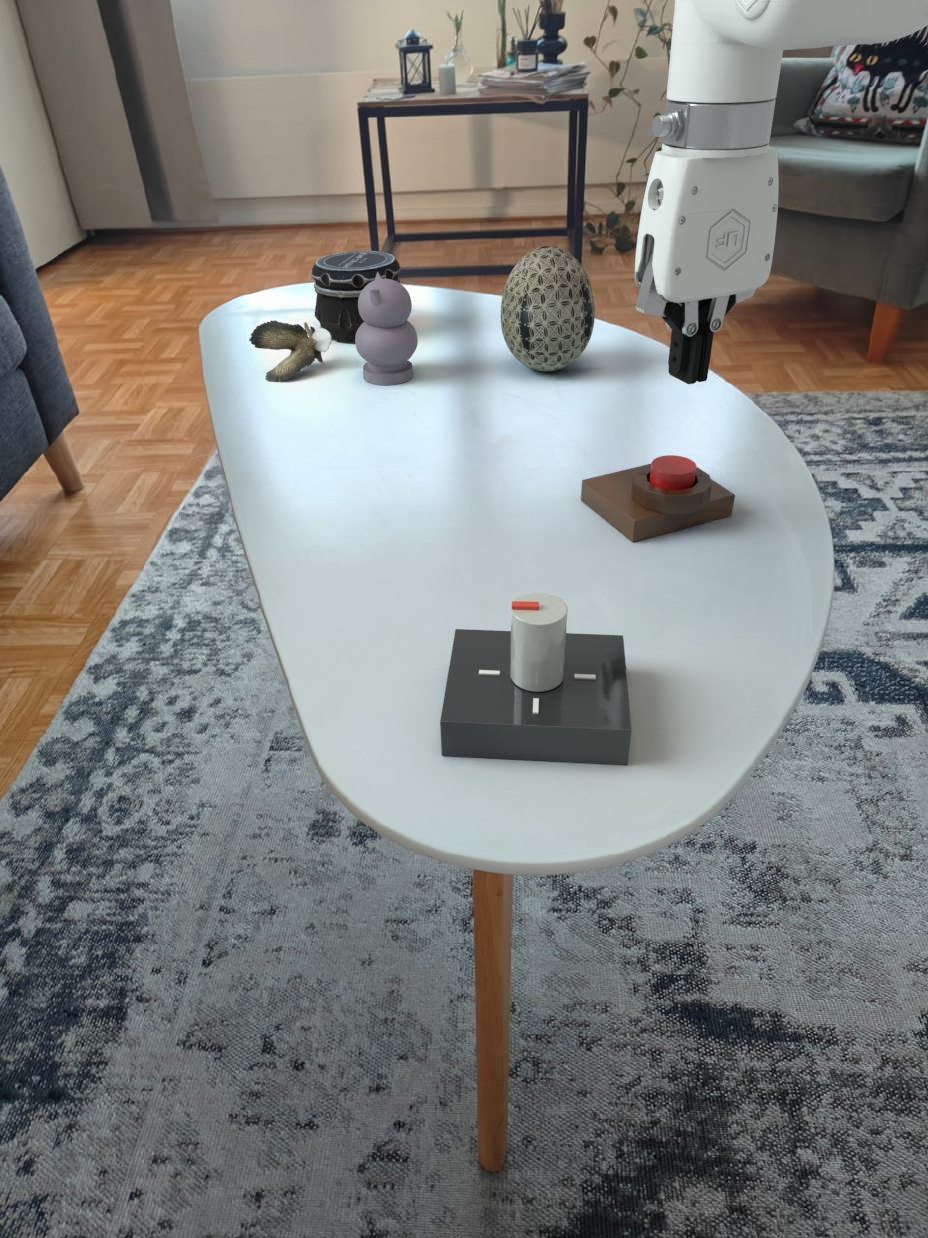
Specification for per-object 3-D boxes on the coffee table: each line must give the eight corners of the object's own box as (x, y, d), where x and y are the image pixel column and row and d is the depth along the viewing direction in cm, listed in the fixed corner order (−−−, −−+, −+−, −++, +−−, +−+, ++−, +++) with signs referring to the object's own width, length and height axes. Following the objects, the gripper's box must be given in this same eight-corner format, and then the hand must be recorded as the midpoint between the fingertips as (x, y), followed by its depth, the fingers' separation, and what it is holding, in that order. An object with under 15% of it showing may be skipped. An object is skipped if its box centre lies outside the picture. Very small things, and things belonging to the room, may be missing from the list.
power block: (674, 476, 91) (679, 439, 88) (738, 520, 83) (745, 480, 81) (580, 500, 87) (582, 462, 85) (638, 547, 79) (642, 507, 77)
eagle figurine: (294, 344, 122) (240, 349, 116) (314, 303, 118) (259, 307, 111) (325, 386, 121) (272, 393, 114) (347, 346, 116) (292, 351, 110)
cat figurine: (417, 388, 112) (412, 289, 105) (354, 389, 112) (345, 289, 105) (421, 364, 119) (417, 269, 112) (362, 364, 119) (354, 270, 112)
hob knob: (563, 659, 62) (567, 588, 58) (564, 693, 59) (568, 621, 55) (510, 658, 62) (511, 587, 59) (509, 691, 59) (510, 619, 56)
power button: (676, 468, 84) (679, 451, 83) (703, 486, 81) (705, 468, 80) (640, 477, 83) (642, 460, 82) (666, 495, 80) (668, 478, 79)
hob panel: (619, 668, 66) (623, 633, 64) (627, 765, 58) (632, 728, 56) (456, 661, 67) (455, 626, 65) (441, 756, 59) (439, 719, 57)
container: (314, 321, 135) (306, 251, 129) (400, 314, 136) (395, 245, 131) (319, 349, 124) (310, 274, 119) (411, 341, 126) (407, 267, 120)
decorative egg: (566, 391, 110) (572, 263, 101) (483, 375, 115) (482, 251, 106) (606, 362, 118) (614, 241, 109) (527, 348, 123) (529, 231, 114)
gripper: (659, 142, 59) (636, 409, 70) (835, 125, 64) (788, 376, 75) (599, 131, 65) (586, 379, 75) (765, 116, 70) (731, 350, 80)
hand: (687, 377), depth 75 cm, fingers closed
